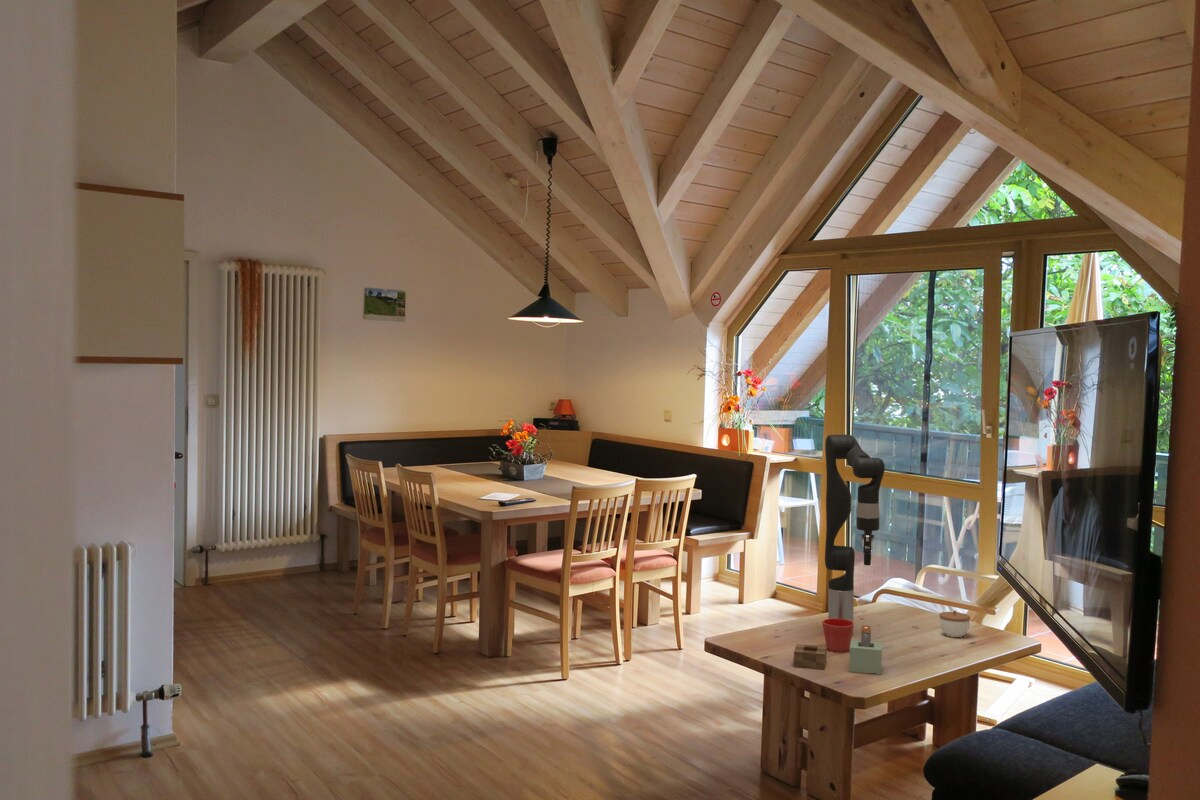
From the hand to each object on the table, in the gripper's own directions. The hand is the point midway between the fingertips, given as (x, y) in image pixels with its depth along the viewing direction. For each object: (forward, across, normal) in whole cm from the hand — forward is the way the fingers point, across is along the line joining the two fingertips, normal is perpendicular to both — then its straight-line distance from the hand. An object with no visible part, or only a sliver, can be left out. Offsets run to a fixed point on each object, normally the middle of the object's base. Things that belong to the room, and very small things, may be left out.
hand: (867, 562), depth 325 cm
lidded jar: (+33, -41, +31) cm, 61 cm away
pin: (+33, +12, 0) cm, 35 cm away
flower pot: (+33, -9, -10) cm, 36 cm away
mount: (+33, +12, -18) cm, 40 cm away
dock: (+33, +12, 0) cm, 35 cm away
